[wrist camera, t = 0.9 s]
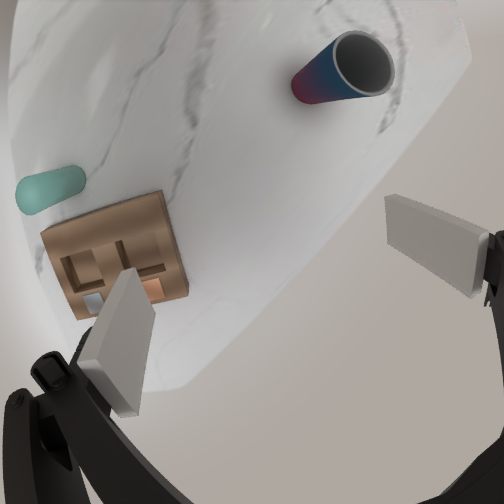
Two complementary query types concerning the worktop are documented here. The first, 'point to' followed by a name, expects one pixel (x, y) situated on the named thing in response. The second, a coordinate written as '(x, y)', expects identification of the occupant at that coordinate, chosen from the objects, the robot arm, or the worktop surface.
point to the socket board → (116, 253)
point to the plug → (48, 188)
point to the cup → (346, 70)
